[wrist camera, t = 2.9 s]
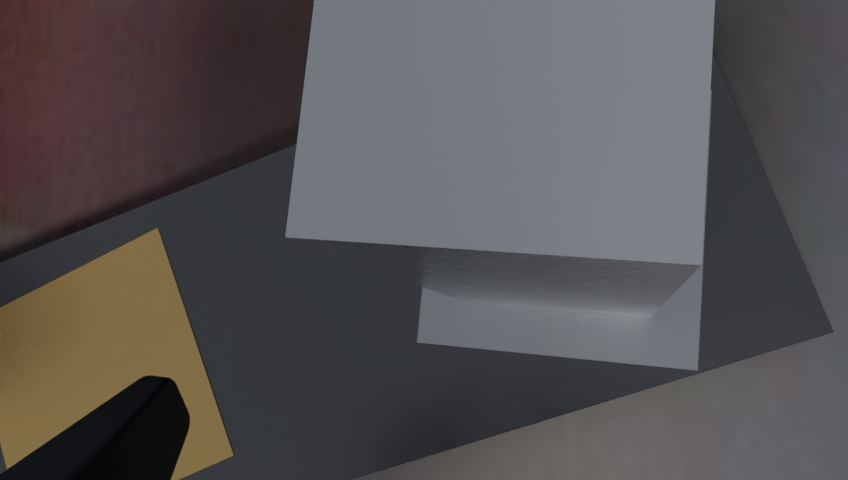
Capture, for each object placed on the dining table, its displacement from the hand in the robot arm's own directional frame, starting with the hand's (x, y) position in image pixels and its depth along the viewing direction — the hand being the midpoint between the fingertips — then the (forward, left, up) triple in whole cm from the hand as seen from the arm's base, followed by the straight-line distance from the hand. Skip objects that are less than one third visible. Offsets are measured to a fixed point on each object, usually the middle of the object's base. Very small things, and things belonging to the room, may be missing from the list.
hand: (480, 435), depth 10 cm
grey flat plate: (+5, +5, -11) cm, 14 cm away
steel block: (+4, -3, -11) cm, 12 cm away
